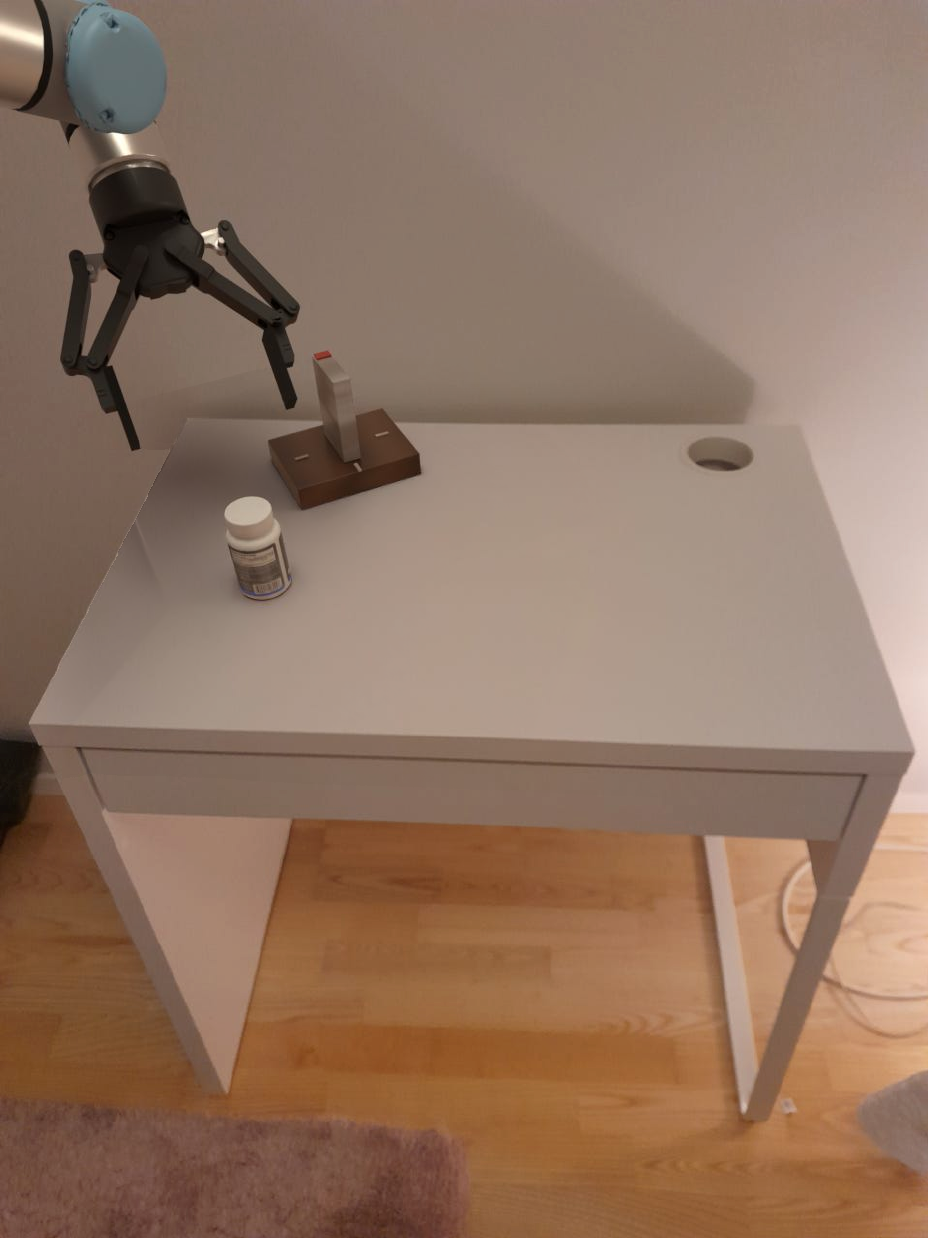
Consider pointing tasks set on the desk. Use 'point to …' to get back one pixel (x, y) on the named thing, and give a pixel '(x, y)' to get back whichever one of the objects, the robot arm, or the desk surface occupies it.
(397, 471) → the panel
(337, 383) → the red-topped gray slab
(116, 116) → the robot arm
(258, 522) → the pill bottle
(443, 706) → the desk surface
